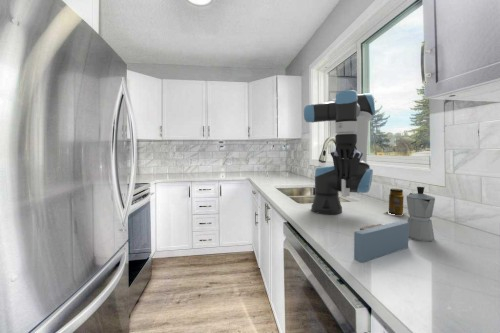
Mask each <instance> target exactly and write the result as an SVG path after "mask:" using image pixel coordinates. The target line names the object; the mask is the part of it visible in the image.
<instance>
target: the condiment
mask: <svg viewBox="0 0 500 333" xmlns="http://www.w3.org/2000/svg"><path fill="white" fill-rule="evenodd" d="M388 211H389V213H391V214H395V215H394V217H395V216H396V217H402V216H403V215H402V214H403V213H404V192H403V189H402V188H401V189H400V188H390V190H389V195H388ZM388 211H386V212H384V213H383V214H385V215H389V214H388ZM389 216H390V215H389Z"/></svg>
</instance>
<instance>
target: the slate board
mask: <svg viewBox="0 0 500 333" xmlns="http://www.w3.org/2000/svg"><path fill="white" fill-rule="evenodd" d="M408 236H409V222H408V221H404V220H398V221H394V222H389V223H385V224H382V225H381V226H376V227H372V228H368V229H364V230H360V229H359V230H355V231H354V236H353V237H354V239H353V240H354V243H353V244H354V247H353V253H354V254H353V259H354V260H355V261H357V262H359V263H365V262H368V261H372V260H375V259H378V258H380V257H383V256H386V255H389V254H392V253H395V252H399V251H402V250H405V249H407V248H409V238H408Z"/></svg>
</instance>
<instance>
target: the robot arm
mask: <svg viewBox="0 0 500 333" xmlns="http://www.w3.org/2000/svg"><path fill="white" fill-rule="evenodd" d="M374 99H375V98H374V95H373V93H370V92H369V93H362V94H361V93H360V94H358V92H357V91H356V90H354V89H348V90H345V89H344V90H340V91H338V92H337V93H335V98H332V99H329V100H326V101H325V102H320V103H316V104H307V105H305V107H304V109H303V119H304V121H305V122H306V123H319V122H320V123H321V122H334V121H335V126H334V127H335V137H334V142H335V145H336V147H335V150H334V151H333V152H332V151H331V152H330V156H331V158H332V161H333V165H327V166H319V167H316V169H315V171H314V197H313V202H312V204H311V211H312V212H314V213H316V214H317V213H318V214H321V215H322V214H323V215H338V214H341V213H343V207H342V205H341V199H340V197H339V193H340V192H341V197H343V198H346V197H350V194H351V193H357V194H360V193H361V194H363V193H364V194H366V193H367V194H368V192H369V191H370V190H371V187H372V181H373V173H374V172H373V171H374V169H372V168H371V167H370V166H371V165H370V164H369V163H367V162H368V158H367V157H368V138H369V137H368V136H369V121H371V120H372V118H373V116H376V110H375V109H376V108H375V100H374Z"/></svg>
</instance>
